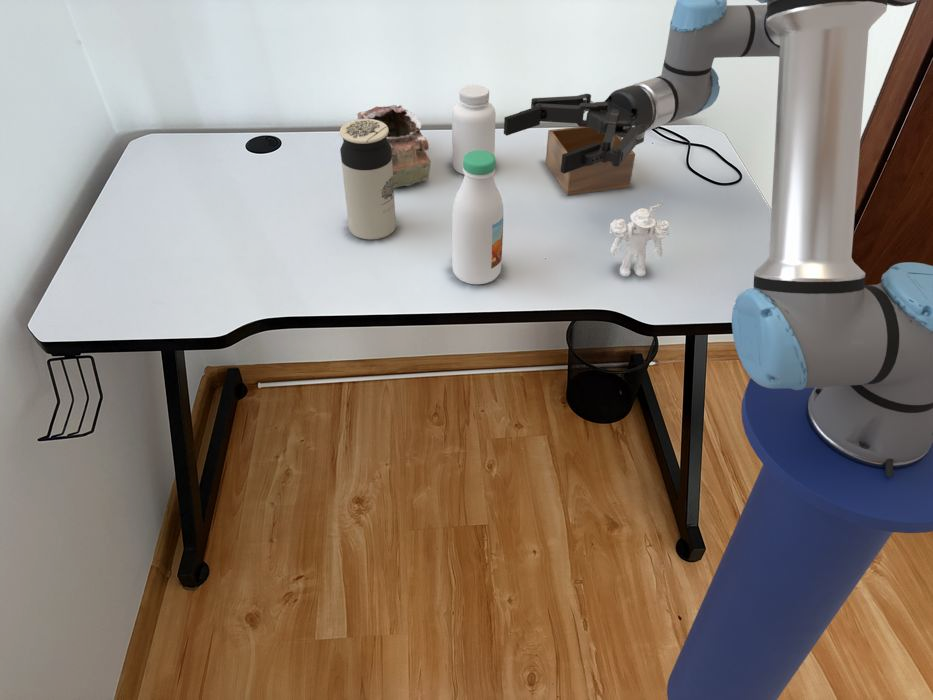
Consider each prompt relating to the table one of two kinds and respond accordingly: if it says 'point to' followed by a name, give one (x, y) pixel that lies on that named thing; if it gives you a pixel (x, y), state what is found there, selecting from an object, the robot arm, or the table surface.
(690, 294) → the table surface
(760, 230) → the table surface
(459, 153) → the pill bottle
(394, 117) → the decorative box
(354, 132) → the travel mug
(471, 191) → the milk bottle
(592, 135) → the wooden box
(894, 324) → the robot arm
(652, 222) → the flower shoulder figurine
